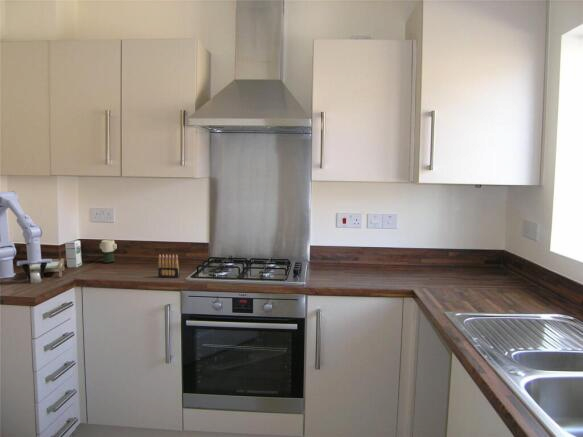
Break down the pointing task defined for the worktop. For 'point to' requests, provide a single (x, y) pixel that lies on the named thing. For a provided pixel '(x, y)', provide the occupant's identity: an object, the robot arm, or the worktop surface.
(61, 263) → the frame
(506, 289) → the worktop surface
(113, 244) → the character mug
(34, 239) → the robot arm
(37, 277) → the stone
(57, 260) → the trapdoor
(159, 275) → the ammunition clip
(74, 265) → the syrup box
